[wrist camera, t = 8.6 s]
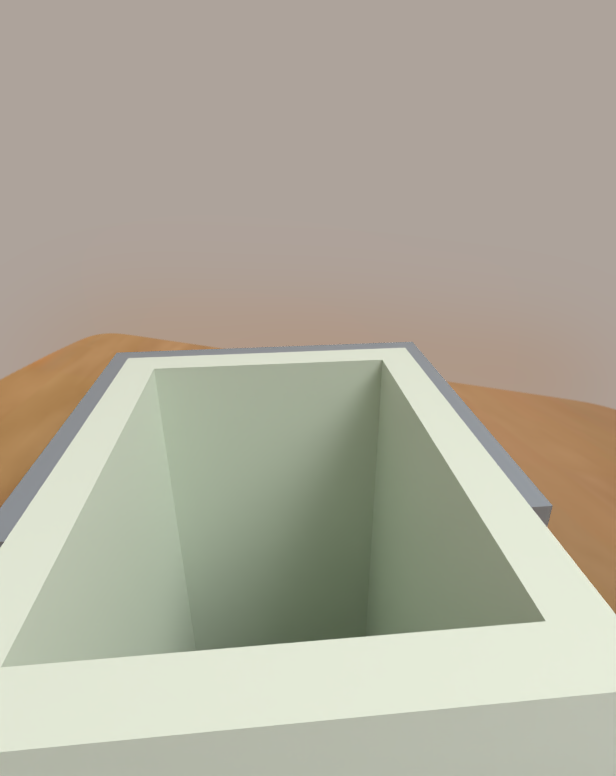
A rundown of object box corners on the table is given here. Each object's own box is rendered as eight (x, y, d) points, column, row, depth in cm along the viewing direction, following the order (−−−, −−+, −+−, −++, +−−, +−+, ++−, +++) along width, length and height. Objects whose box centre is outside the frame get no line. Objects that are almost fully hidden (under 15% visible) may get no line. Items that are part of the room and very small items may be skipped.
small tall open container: (142, 1194, 8) (-147, 764, 3) (193, 740, 14) (128, 358, 9) (461, 1141, 8) (671, 684, 3) (374, 722, 15) (405, 347, 10)
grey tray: (5, 628, 18) (-27, 543, 16) (126, 406, 34) (116, 352, 32) (532, 587, 19) (552, 506, 18) (407, 393, 36) (412, 341, 34)
